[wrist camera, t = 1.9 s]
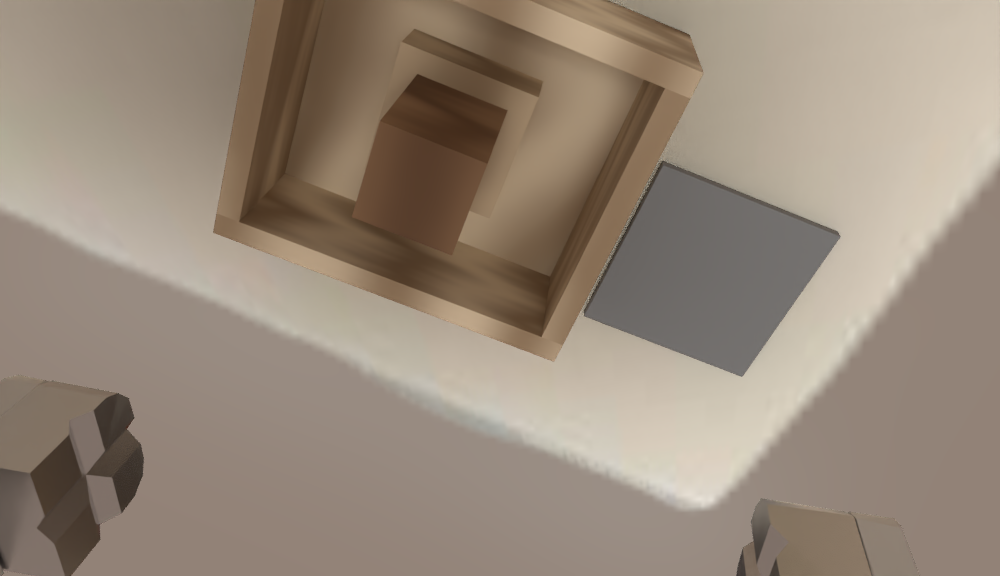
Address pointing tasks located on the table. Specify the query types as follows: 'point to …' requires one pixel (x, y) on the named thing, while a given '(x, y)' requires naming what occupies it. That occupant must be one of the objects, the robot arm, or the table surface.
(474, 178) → the walnut block
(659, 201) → the felt coaster
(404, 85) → the crate
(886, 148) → the table surface
